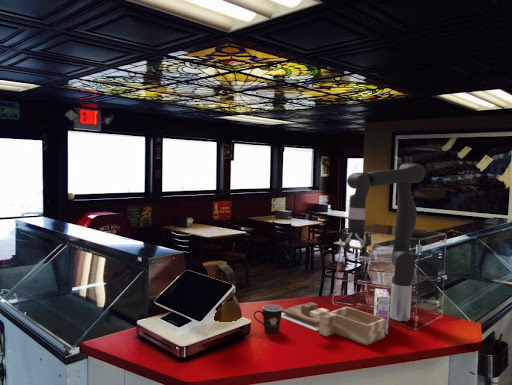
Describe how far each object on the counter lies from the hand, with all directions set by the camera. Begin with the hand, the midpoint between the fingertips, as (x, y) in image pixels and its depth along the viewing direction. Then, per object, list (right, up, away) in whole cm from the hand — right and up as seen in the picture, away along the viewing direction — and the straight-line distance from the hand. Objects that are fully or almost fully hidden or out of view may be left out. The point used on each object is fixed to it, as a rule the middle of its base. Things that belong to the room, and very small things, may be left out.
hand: (355, 253), depth 195 cm
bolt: (-18, -24, -12) cm, 32 cm away
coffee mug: (-40, -33, -7) cm, 52 cm away
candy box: (+12, -34, +1) cm, 36 cm away
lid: (-20, -31, +10) cm, 38 cm away
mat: (-20, -32, +10) cm, 39 cm away
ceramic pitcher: (-61, -32, -10) cm, 69 cm away
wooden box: (-4, -34, -9) cm, 35 cm away
